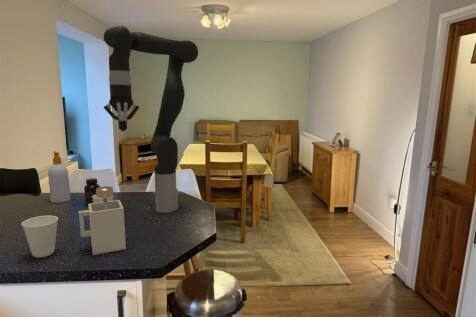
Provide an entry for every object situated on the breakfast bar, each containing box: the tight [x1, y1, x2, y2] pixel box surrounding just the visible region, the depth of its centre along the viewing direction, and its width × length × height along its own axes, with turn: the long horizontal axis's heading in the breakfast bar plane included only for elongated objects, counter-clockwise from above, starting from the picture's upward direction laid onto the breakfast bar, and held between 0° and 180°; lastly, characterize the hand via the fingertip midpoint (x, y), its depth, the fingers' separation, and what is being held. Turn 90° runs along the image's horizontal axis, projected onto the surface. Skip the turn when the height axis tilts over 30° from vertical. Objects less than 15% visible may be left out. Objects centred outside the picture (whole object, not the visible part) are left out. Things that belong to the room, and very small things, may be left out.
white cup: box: [92, 194, 114, 203], centre depth 134 cm, size 8×8×10 cm
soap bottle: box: [47, 150, 71, 204], centre depth 157 cm, size 9×9×24 cm
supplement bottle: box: [83, 177, 101, 207], centre depth 152 cm, size 7×7×12 cm
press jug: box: [78, 199, 127, 256], centre depth 108 cm, size 13×10×14 cm
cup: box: [21, 214, 59, 258], centre depth 103 cm, size 10×10×11 cm
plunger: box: [96, 185, 114, 210], centre depth 108 cm, size 8×8×19 cm
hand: (123, 130), depth 123 cm, fingers closed
